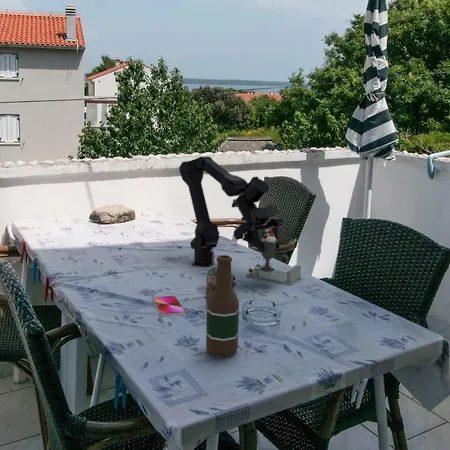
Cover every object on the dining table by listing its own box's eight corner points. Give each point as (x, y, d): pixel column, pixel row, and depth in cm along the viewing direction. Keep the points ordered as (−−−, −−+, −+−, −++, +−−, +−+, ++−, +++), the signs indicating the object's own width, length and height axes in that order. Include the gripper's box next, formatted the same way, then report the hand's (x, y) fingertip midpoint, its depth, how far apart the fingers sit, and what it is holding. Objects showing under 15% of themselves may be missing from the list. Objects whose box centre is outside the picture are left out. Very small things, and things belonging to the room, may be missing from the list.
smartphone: (175, 295, 170) (186, 312, 156) (174, 298, 171) (186, 315, 157) (151, 297, 168) (160, 314, 154) (151, 300, 168) (161, 317, 154)
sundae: (276, 273, 177) (278, 228, 174) (255, 271, 178) (257, 226, 175) (278, 267, 183) (281, 223, 180) (258, 265, 184) (260, 222, 181)
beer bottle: (205, 344, 138) (206, 252, 132) (236, 344, 138) (239, 252, 133) (206, 358, 130) (208, 261, 125) (239, 358, 131) (242, 261, 125)
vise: (245, 276, 192) (246, 264, 191) (258, 269, 200) (258, 257, 199) (289, 285, 184) (290, 272, 183) (300, 277, 193) (301, 265, 192)
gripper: (241, 199, 172) (264, 240, 167) (281, 193, 184) (304, 232, 179) (223, 219, 180) (245, 259, 174) (263, 212, 192) (285, 250, 186)
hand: (271, 249), depth 178 cm, fingers closed on sundae, 6 cm apart
